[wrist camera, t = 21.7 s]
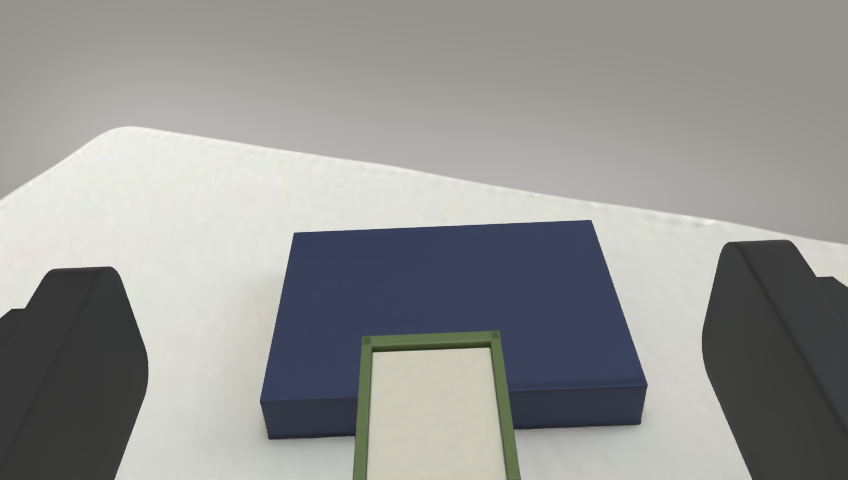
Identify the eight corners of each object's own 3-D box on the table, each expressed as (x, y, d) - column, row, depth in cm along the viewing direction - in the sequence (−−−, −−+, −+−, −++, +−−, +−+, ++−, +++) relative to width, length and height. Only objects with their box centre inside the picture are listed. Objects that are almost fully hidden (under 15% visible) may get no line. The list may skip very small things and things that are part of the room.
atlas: (587, 255, 54) (591, 219, 52) (640, 424, 41) (647, 385, 40) (299, 267, 54) (293, 232, 52) (268, 439, 42) (259, 400, 40)
